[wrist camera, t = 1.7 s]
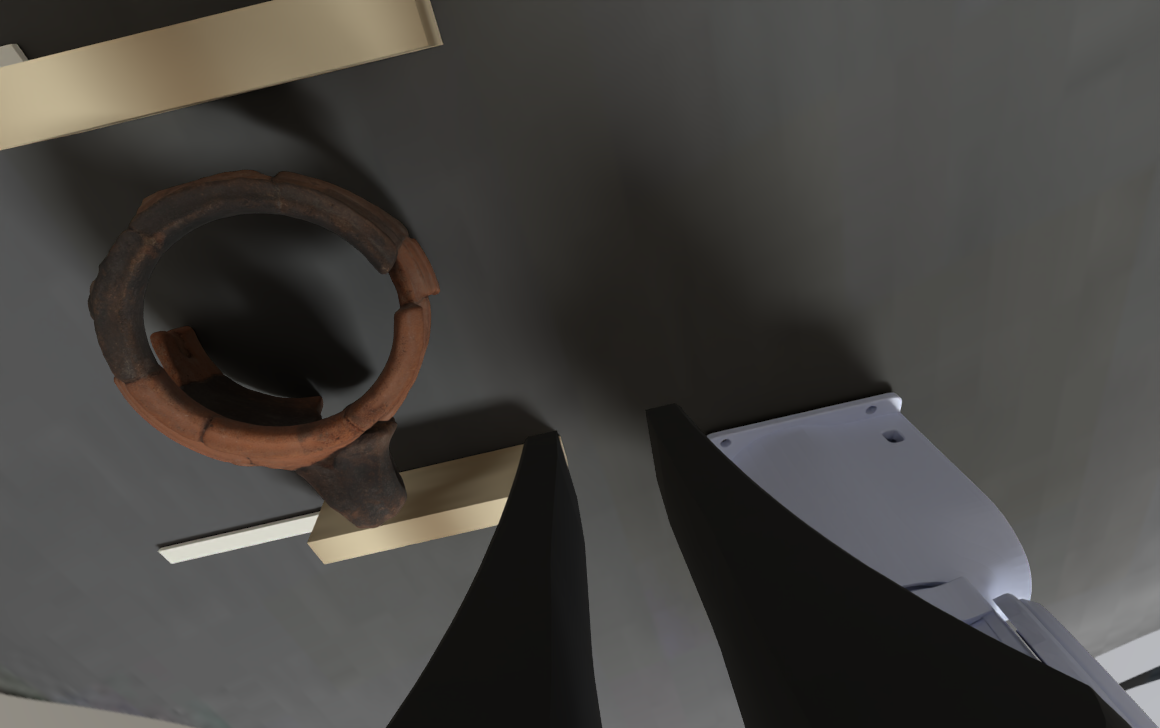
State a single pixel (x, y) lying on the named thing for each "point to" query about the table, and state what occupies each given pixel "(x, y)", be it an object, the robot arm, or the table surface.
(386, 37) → the cradle
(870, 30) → the table surface
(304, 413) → the pottery mug
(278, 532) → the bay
